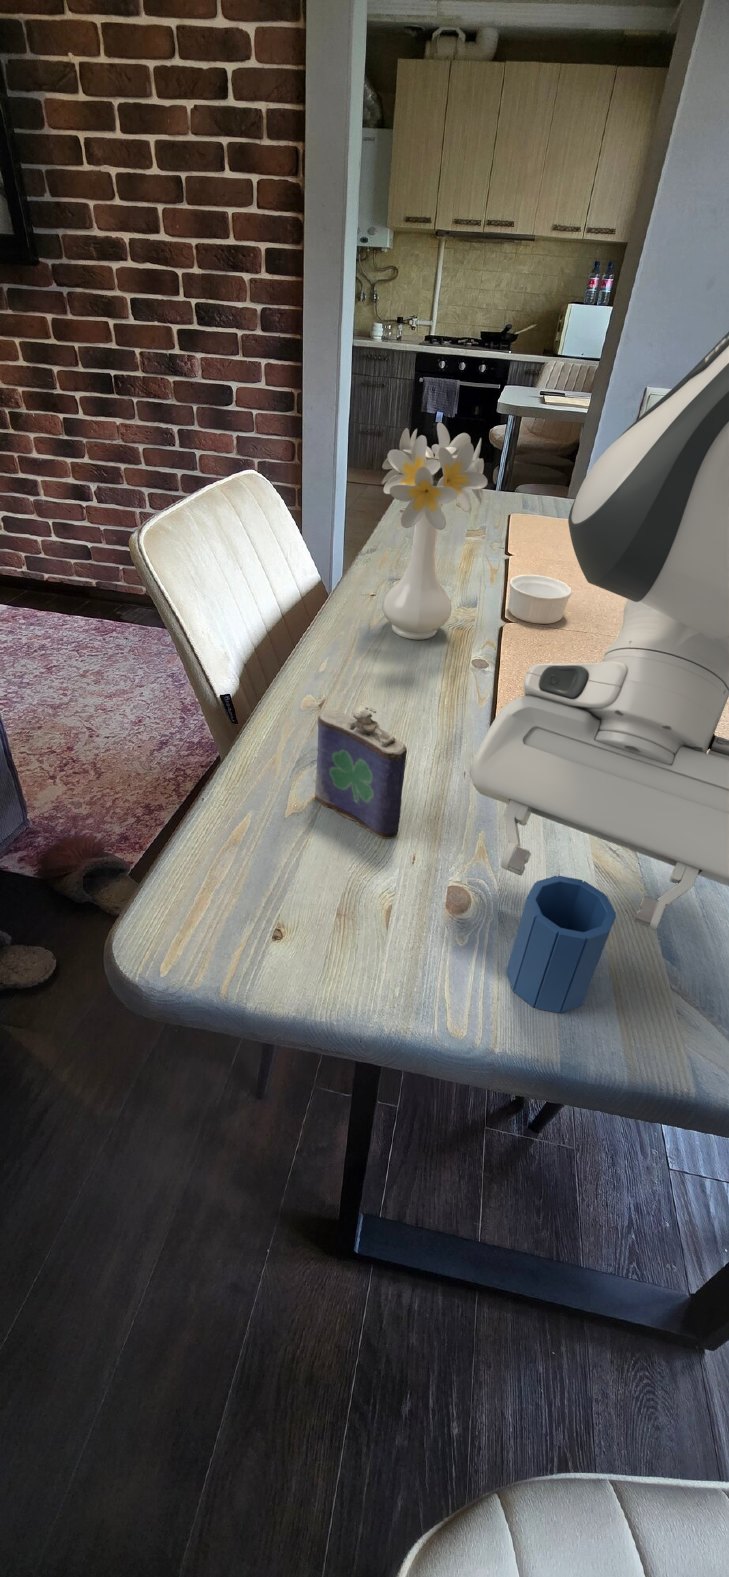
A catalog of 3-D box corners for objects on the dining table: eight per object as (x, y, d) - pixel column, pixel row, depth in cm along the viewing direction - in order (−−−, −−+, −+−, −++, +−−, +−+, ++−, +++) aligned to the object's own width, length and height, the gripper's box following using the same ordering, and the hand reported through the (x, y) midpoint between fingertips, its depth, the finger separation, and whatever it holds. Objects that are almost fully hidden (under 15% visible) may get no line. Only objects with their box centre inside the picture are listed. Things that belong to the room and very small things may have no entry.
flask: (309, 798, 68) (312, 696, 62) (330, 785, 70) (336, 685, 64) (386, 843, 64) (399, 739, 58) (407, 828, 66) (421, 726, 60)
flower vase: (369, 660, 92) (386, 445, 78) (369, 603, 107) (384, 413, 92) (472, 667, 93) (509, 454, 78) (458, 609, 108) (487, 421, 93)
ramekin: (561, 605, 112) (568, 577, 109) (568, 629, 105) (576, 600, 102) (503, 599, 112) (508, 571, 109) (506, 622, 105) (511, 593, 102)
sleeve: (595, 969, 54) (623, 896, 50) (573, 1026, 50) (601, 951, 45) (523, 937, 56) (544, 864, 52) (496, 990, 52) (516, 915, 48)
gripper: (796, 776, 51) (726, 962, 50) (518, 689, 58) (451, 849, 57) (822, 751, 45) (743, 961, 44) (509, 658, 53) (433, 836, 51)
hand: (575, 897), depth 51 cm, fingers open, 8 cm apart
